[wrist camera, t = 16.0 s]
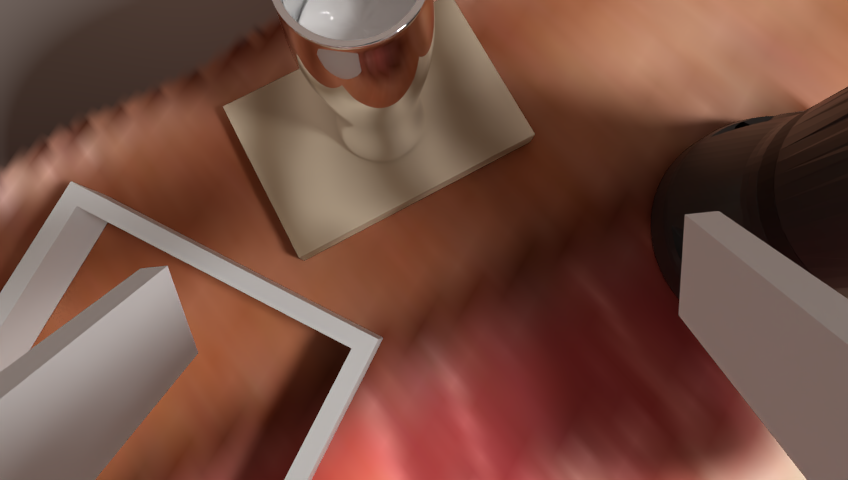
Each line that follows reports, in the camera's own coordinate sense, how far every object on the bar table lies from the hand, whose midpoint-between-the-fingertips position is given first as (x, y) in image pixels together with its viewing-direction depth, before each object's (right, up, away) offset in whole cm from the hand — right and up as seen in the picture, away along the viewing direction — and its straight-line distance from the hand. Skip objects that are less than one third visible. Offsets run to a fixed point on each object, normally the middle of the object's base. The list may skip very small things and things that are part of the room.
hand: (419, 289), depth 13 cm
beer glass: (-3, +9, +22) cm, 24 cm away
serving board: (-3, +9, +23) cm, 25 cm away
